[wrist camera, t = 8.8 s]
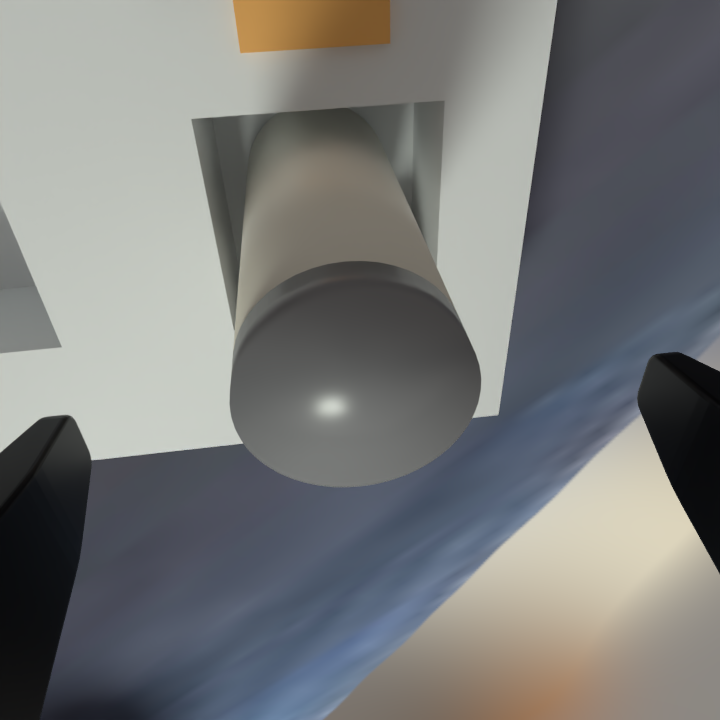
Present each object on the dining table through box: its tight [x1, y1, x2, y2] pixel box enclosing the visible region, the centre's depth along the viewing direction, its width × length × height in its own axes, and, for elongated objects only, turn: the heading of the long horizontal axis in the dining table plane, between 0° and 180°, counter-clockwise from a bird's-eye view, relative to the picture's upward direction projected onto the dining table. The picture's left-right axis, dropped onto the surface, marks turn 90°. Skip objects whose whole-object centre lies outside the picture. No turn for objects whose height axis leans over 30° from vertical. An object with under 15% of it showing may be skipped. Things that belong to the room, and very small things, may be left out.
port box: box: [0, 0, 557, 460], centre depth 16 cm, size 20×14×5 cm
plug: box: [229, 108, 481, 487], centre depth 13 cm, size 4×4×10 cm
